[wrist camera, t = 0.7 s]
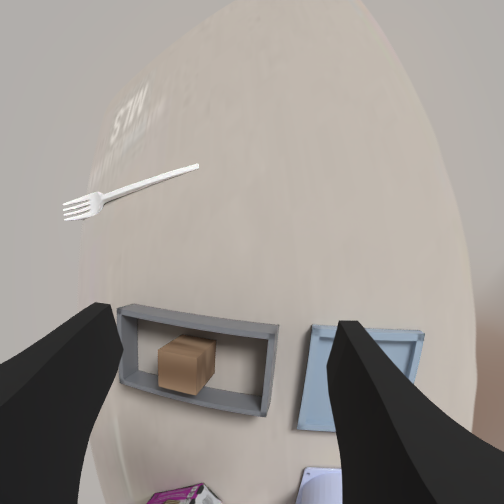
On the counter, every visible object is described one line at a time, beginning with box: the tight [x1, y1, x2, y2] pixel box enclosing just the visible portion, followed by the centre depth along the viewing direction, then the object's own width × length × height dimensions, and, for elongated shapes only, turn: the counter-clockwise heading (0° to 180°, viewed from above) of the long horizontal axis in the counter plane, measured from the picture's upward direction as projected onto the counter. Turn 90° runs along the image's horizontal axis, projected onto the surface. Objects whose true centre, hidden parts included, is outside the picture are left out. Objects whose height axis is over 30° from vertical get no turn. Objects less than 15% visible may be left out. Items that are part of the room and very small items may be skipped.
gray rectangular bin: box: [117, 304, 279, 417], centre depth 30 cm, size 9×17×4 cm, turn 85°
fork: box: [63, 163, 199, 221], centre depth 33 cm, size 3×20×2 cm, turn 102°
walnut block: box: [158, 335, 216, 395], centre depth 29 cm, size 4×4×6 cm
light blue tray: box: [297, 325, 425, 432], centre depth 28 cm, size 12×12×2 cm
